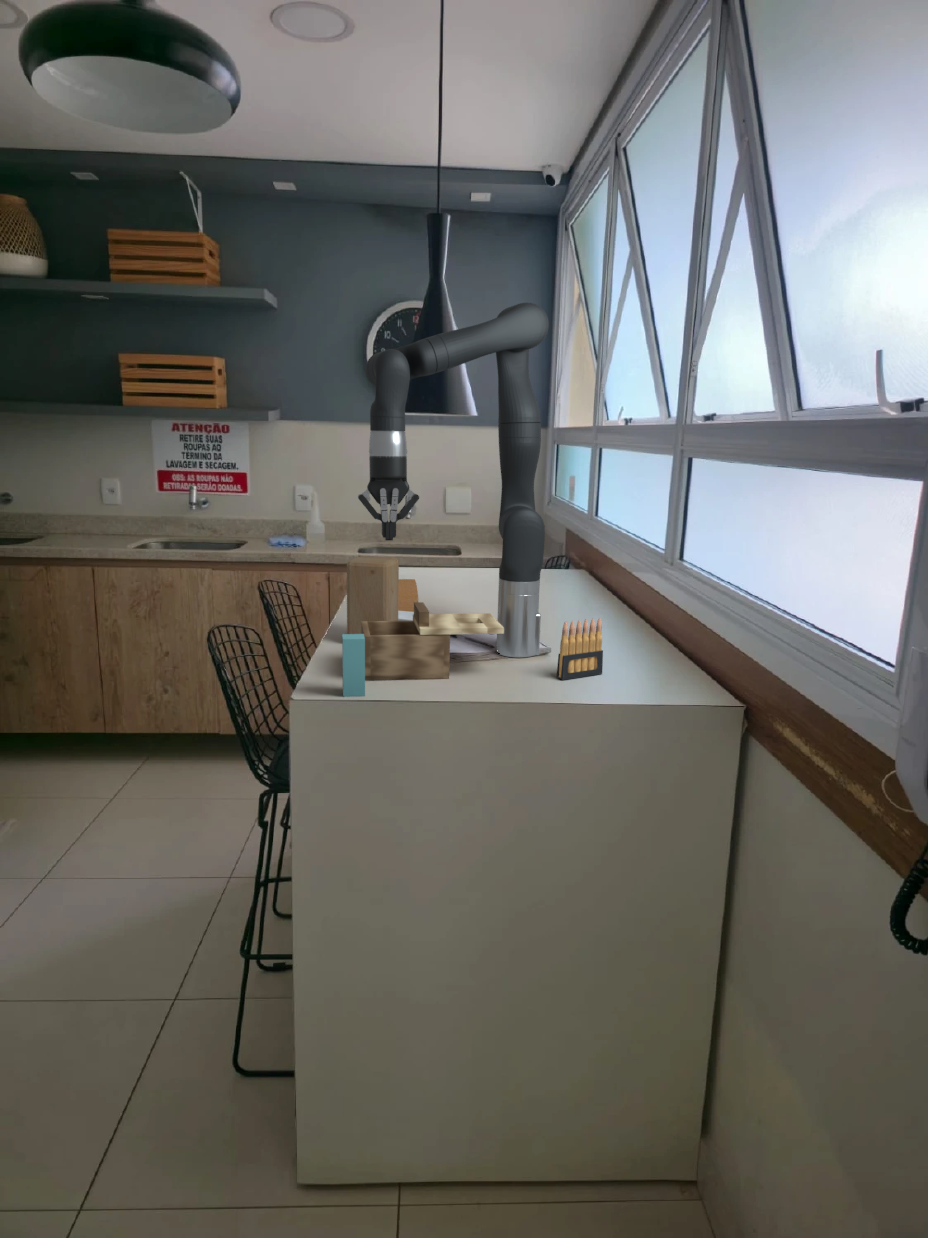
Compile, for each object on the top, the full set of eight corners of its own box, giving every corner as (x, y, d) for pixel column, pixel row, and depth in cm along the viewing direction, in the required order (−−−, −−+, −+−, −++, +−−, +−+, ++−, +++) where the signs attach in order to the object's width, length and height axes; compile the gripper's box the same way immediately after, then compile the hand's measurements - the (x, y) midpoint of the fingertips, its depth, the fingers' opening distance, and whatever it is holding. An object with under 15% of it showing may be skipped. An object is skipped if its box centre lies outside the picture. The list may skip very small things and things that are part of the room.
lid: (490, 618, 174) (490, 600, 174) (503, 633, 161) (504, 613, 160) (412, 619, 172) (412, 600, 171) (420, 634, 158) (420, 614, 157)
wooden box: (439, 660, 174) (440, 620, 173) (449, 678, 161) (450, 635, 159) (361, 662, 172) (361, 621, 170) (364, 680, 158) (364, 636, 156)
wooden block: (387, 649, 183) (387, 563, 179) (345, 646, 185) (345, 560, 180) (399, 639, 192) (399, 557, 188) (359, 636, 194) (359, 555, 190)
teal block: (363, 689, 152) (363, 633, 150) (365, 696, 149) (364, 638, 146) (342, 690, 152) (342, 634, 149) (343, 696, 148) (342, 639, 146)
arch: (397, 623, 210) (397, 586, 208) (390, 608, 230) (391, 573, 227) (418, 623, 211) (419, 586, 209) (411, 608, 231) (411, 573, 228)
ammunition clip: (561, 680, 162) (564, 622, 160) (556, 677, 164) (559, 620, 161) (602, 673, 168) (606, 618, 165) (596, 671, 169) (600, 616, 167)
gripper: (418, 454, 165) (418, 537, 169) (354, 453, 163) (355, 538, 167) (423, 454, 158) (423, 541, 162) (356, 454, 156) (357, 542, 159)
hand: (388, 539), depth 164 cm, fingers closed
